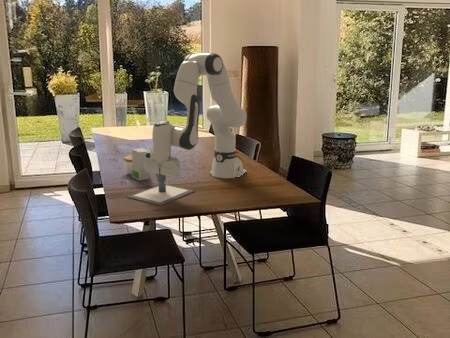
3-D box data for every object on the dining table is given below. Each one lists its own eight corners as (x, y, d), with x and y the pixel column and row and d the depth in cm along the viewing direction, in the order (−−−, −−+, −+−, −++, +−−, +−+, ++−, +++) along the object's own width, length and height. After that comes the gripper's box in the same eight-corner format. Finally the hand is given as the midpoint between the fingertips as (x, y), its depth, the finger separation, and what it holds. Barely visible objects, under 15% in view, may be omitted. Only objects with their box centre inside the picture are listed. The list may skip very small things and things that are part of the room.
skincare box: (131, 177, 253) (131, 149, 249) (142, 175, 257) (142, 147, 253) (139, 180, 246) (139, 152, 242) (150, 178, 251) (150, 150, 247)
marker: (161, 189, 229) (161, 162, 226) (167, 191, 228) (167, 164, 224) (156, 191, 226) (156, 164, 223) (162, 192, 224) (162, 165, 221)
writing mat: (162, 184, 241) (162, 183, 240) (194, 191, 231) (194, 190, 230) (127, 197, 219) (127, 195, 219) (160, 205, 209) (160, 203, 209)
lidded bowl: (142, 177, 254) (142, 157, 251) (120, 175, 256) (120, 155, 253) (150, 171, 266) (150, 152, 263) (130, 169, 268) (129, 150, 265)
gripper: (183, 157, 220) (183, 185, 223) (150, 151, 230) (150, 178, 234) (175, 159, 215) (175, 188, 218) (141, 153, 225) (142, 181, 228)
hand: (162, 183), depth 226 cm, fingers closed on marker, 4 cm apart
